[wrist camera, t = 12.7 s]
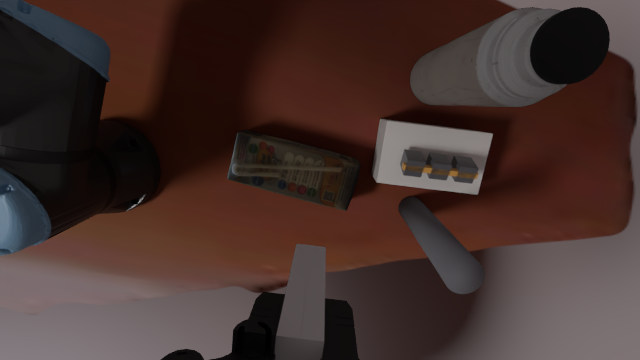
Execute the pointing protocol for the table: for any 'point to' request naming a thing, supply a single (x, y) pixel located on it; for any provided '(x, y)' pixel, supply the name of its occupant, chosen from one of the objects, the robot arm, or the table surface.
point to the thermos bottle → (513, 59)
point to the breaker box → (426, 140)
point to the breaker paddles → (439, 166)
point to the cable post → (442, 248)
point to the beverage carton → (294, 169)
